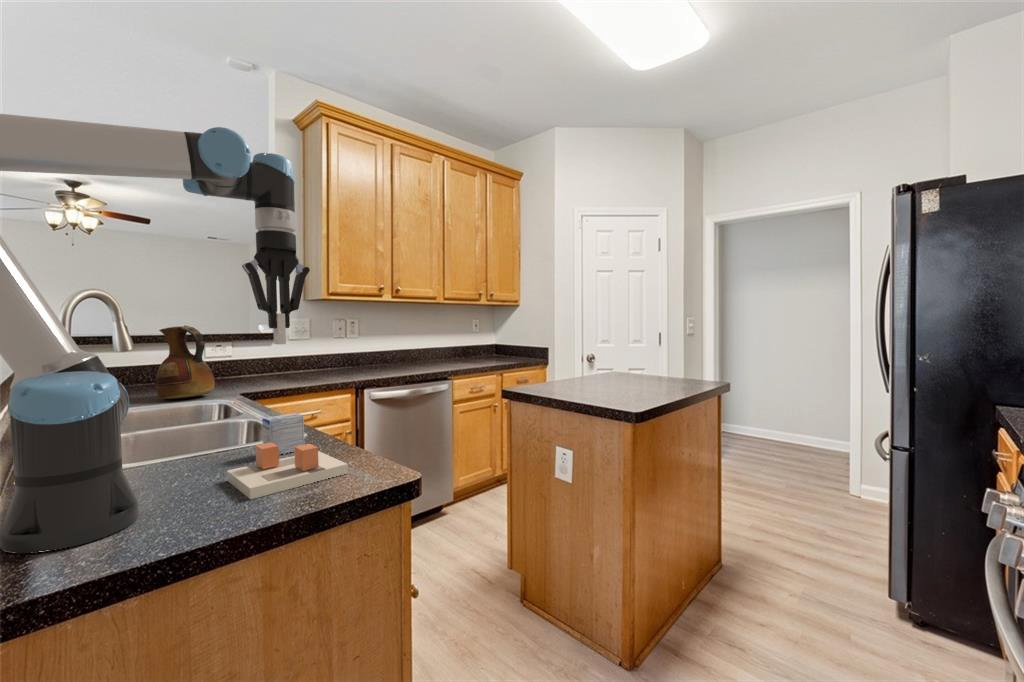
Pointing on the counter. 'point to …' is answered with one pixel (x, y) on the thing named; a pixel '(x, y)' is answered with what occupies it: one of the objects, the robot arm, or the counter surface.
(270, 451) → the far tab
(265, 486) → the switch bank
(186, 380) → the ceramic pitcher
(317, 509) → the counter surface
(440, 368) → the counter surface
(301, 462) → the near tab
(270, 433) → the medicine box
